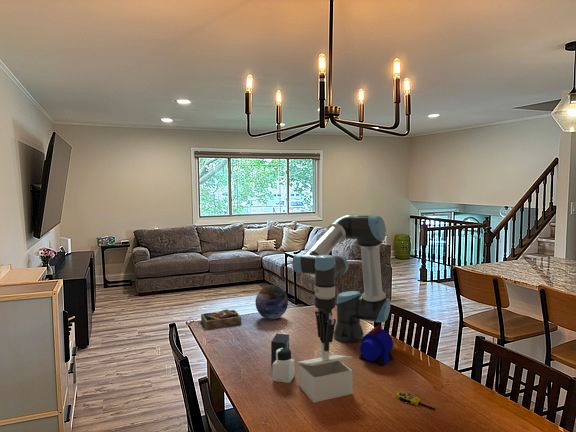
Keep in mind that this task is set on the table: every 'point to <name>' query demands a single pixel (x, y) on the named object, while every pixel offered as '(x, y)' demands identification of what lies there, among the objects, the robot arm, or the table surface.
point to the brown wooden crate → (221, 315)
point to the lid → (320, 361)
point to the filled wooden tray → (220, 321)
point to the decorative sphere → (271, 302)
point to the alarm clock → (377, 346)
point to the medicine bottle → (283, 366)
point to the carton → (325, 380)
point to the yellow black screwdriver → (410, 399)
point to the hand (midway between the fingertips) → (325, 358)
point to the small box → (278, 344)
